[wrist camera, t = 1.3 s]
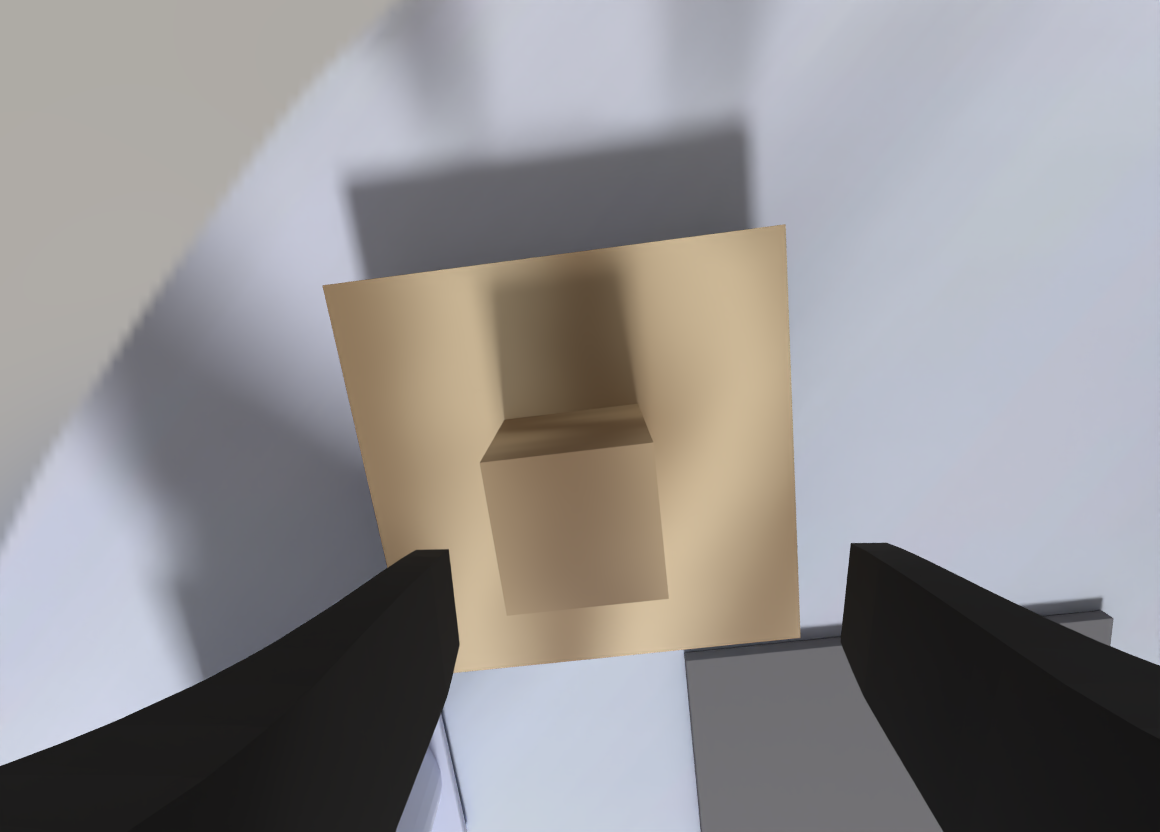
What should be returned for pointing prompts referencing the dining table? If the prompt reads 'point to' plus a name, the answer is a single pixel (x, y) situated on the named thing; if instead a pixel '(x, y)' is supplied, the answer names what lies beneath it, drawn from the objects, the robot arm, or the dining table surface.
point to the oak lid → (586, 443)
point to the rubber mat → (803, 741)
